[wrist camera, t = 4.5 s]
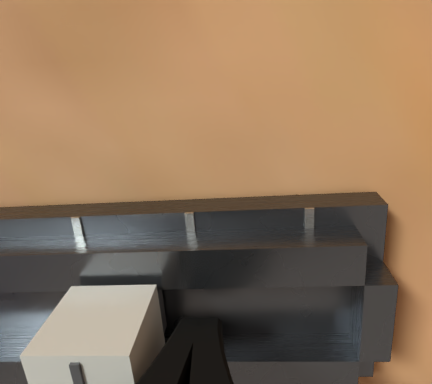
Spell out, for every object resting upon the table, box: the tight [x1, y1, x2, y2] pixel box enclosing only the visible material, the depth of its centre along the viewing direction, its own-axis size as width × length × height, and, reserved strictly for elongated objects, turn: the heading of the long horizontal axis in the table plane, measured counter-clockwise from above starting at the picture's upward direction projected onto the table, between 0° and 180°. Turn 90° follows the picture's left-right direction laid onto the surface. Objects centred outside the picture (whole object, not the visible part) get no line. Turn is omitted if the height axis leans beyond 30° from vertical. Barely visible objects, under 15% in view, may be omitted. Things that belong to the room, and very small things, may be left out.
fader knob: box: [20, 285, 167, 384], centre depth 12 cm, size 4×3×5 cm
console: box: [0, 192, 398, 384], centre depth 14 cm, size 8×21×3 cm, turn 94°
